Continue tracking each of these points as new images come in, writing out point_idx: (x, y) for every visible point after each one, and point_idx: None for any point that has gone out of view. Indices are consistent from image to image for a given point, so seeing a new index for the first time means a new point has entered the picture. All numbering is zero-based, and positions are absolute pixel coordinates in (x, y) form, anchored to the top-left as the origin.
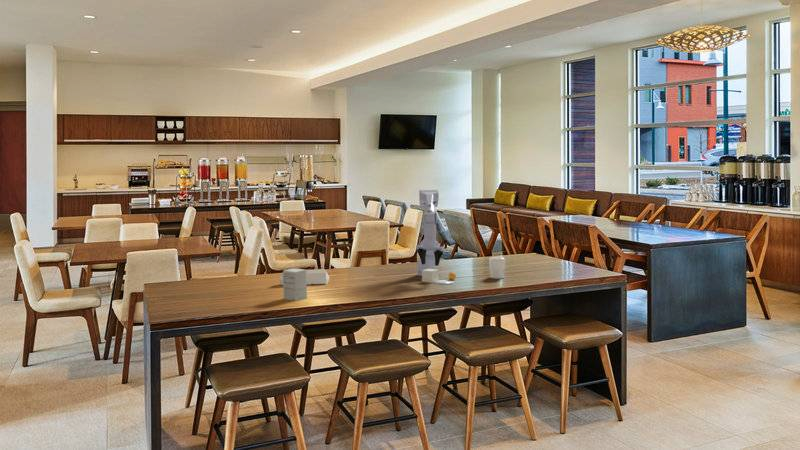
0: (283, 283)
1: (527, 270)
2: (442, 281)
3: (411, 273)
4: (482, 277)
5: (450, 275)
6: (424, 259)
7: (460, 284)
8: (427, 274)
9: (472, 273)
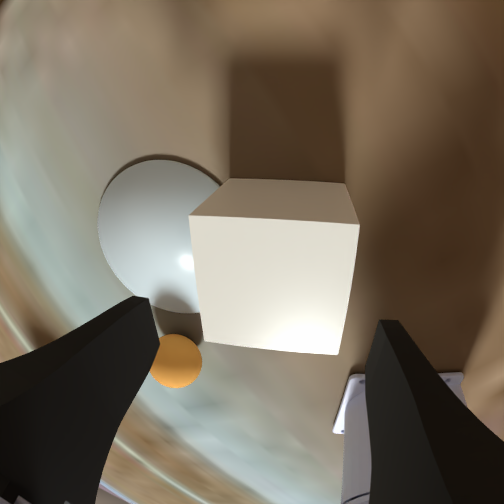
0: None
1: (129, 478)
2: (184, 258)
3: (491, 395)
4: None
5: (164, 347)
6: (377, 417)
7: (58, 231)
8: (271, 202)
9: (214, 462)
